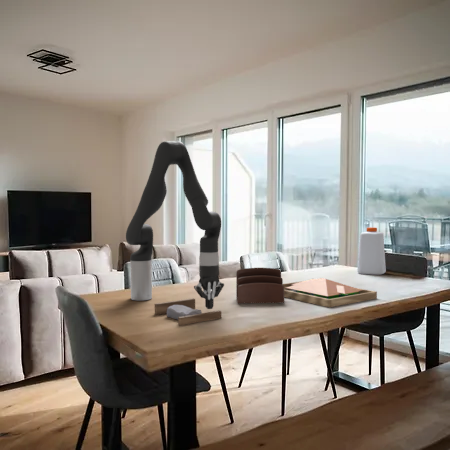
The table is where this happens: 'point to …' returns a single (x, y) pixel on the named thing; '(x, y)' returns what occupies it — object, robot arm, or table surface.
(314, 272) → the table surface
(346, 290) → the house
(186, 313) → the stone block
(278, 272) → the letter holder
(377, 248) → the plastic bottle
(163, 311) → the pair of wooden bars
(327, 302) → the wooden picture frame
